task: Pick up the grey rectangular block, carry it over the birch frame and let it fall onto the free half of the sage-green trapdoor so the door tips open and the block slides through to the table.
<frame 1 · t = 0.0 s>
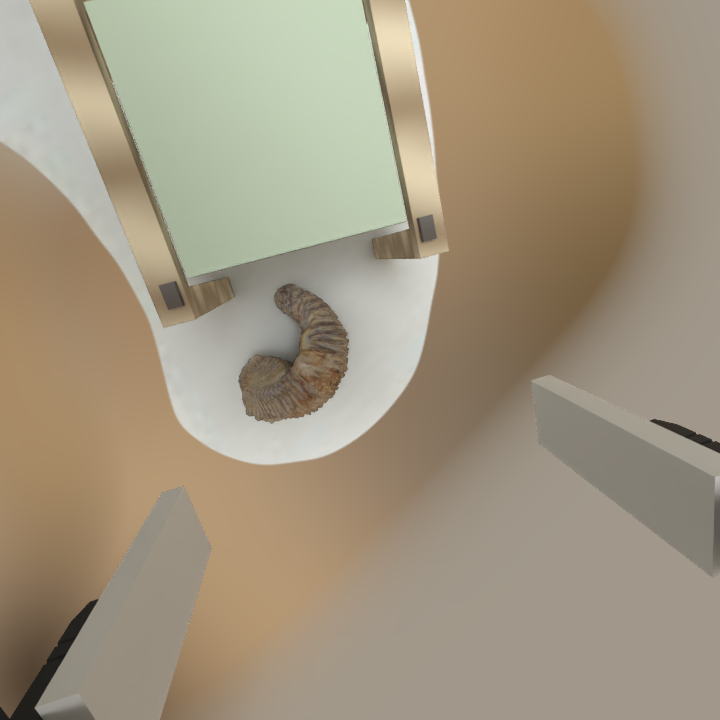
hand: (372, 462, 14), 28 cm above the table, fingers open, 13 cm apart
frame: (278, 179, 36), on the table
trapdoor: (266, 134, 23), point 14 cm above the table, hinge at -0.3°
seashell: (289, 354, 41), on the table
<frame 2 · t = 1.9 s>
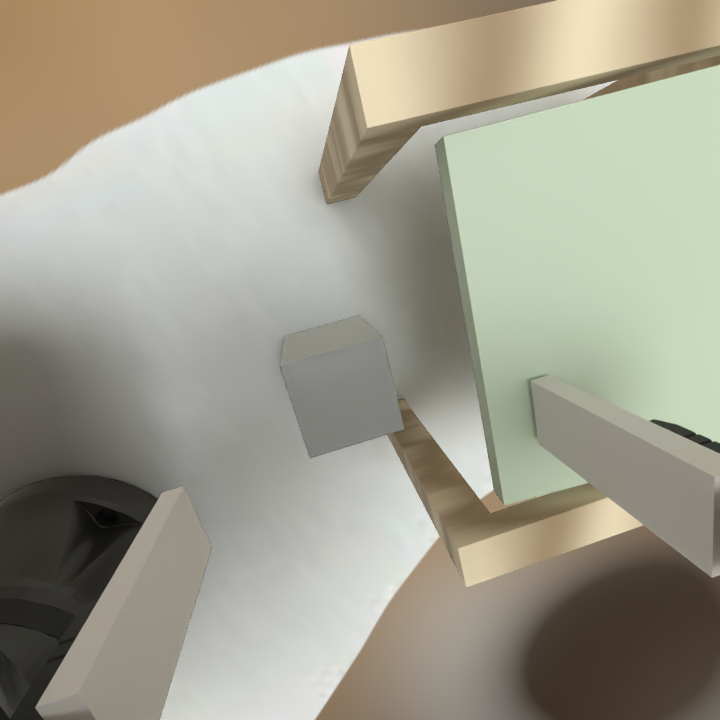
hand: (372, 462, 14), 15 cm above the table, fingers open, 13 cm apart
frame: (477, 278, 28), on the table
trapdoor: (626, 293, 16), point 13 cm above the table, hinge at -4.7°, touching gripper
grey rectangular block: (337, 377, 24), point 4 cm above the table
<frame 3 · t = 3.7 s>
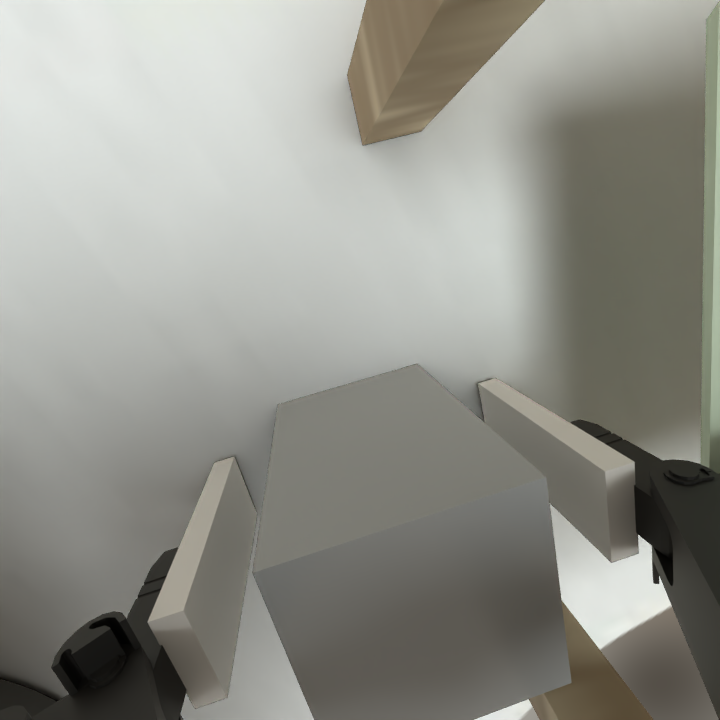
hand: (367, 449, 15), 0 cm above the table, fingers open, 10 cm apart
frame: (634, 294, 15), on the table
grey rectangular block: (388, 508, 11), point 4 cm above the table
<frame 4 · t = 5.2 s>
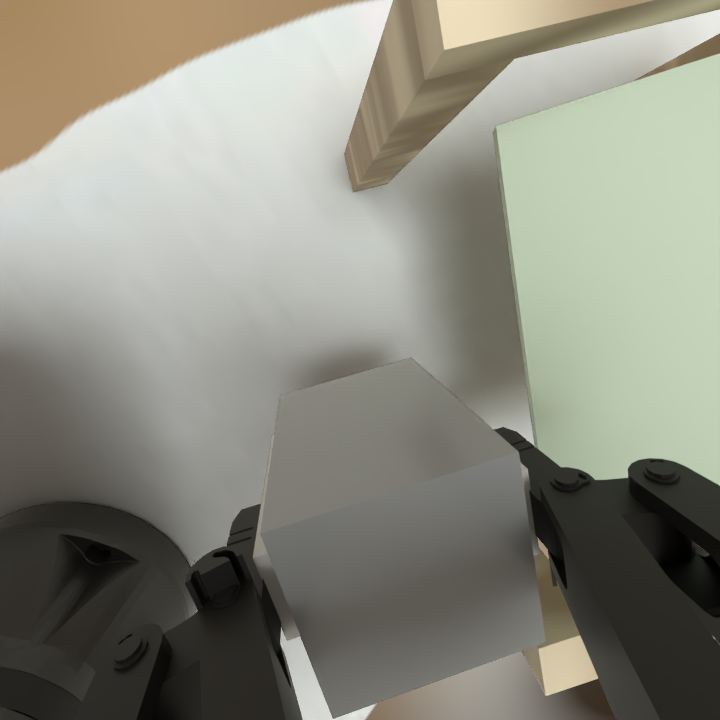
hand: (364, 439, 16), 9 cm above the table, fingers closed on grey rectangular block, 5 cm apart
frame: (527, 280, 24), on the table
grey rectangular block: (382, 490, 12), point 12 cm above the table, touching gripper
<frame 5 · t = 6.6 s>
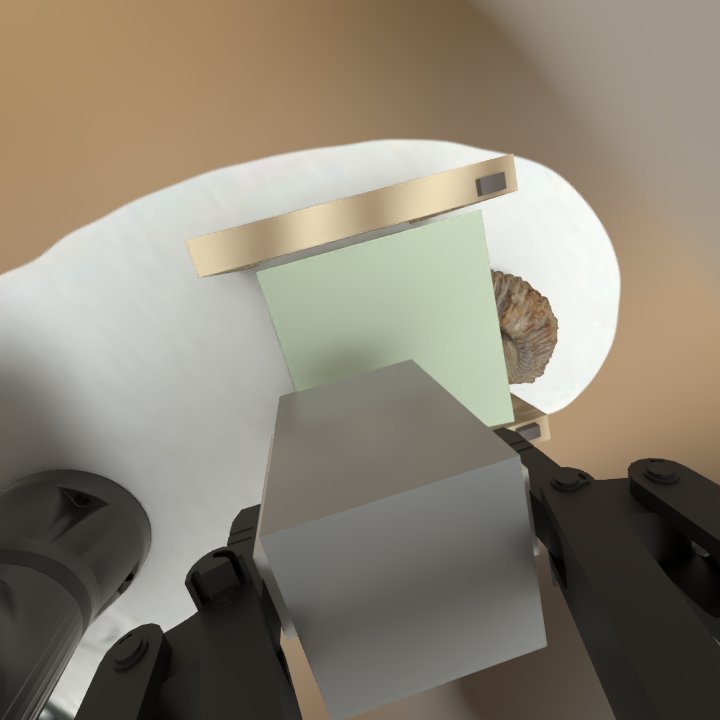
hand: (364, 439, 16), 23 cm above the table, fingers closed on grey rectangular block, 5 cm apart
frame: (356, 319, 38), on the table
trapdoor: (390, 343, 27), point 12 cm above the table, hinge at -12.7°
grey rectangular block: (382, 492, 12), point 27 cm above the table, touching gripper
seashell: (480, 329, 41), on the table
when the fingers open (18 cm above the table, at t = 7.9 s): grey rectangular block drops 10 cm and tips over, resting on trapdoor.
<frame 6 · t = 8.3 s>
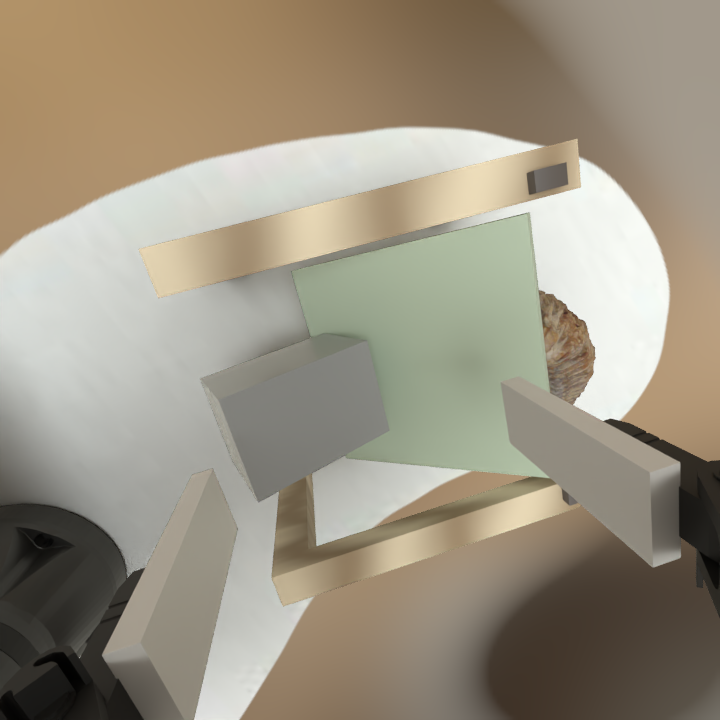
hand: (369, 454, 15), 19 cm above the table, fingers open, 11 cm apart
frame: (364, 336, 33), on the table
trapdoor: (424, 356, 24), point 10 cm above the table, hinge at -38.8°, touching grey rectangular block
grey rectangular block: (295, 404, 22), point 11 cm above the table, tilted 67°, touching trapdoor
seashell: (499, 351, 36), on the table
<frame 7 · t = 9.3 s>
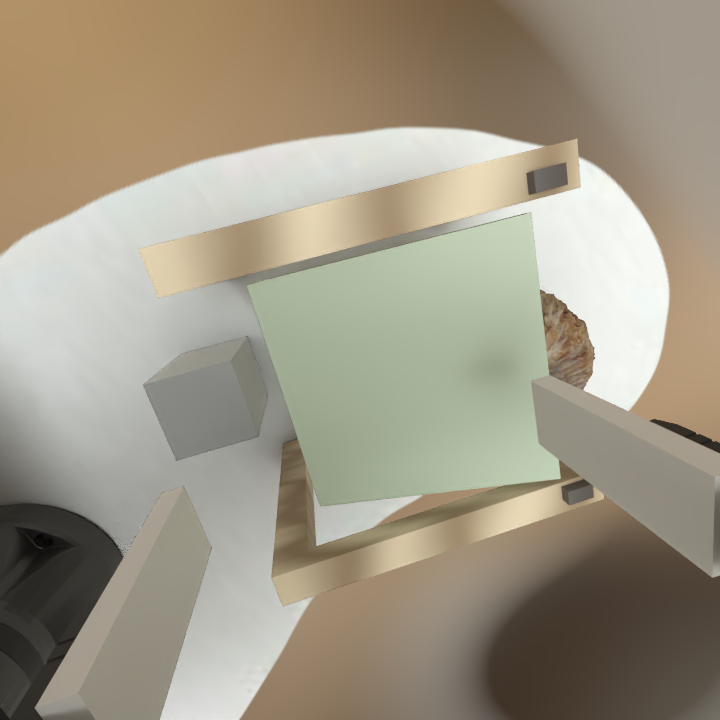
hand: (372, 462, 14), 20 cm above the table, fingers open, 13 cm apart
frame: (363, 336, 33), on the table
trapdoor: (408, 372, 22), point 12 cm above the table, hinge at -17.3°
grey rectangular block: (216, 391, 28), point 4 cm above the table, tilted 180°
seashell: (499, 350, 36), on the table
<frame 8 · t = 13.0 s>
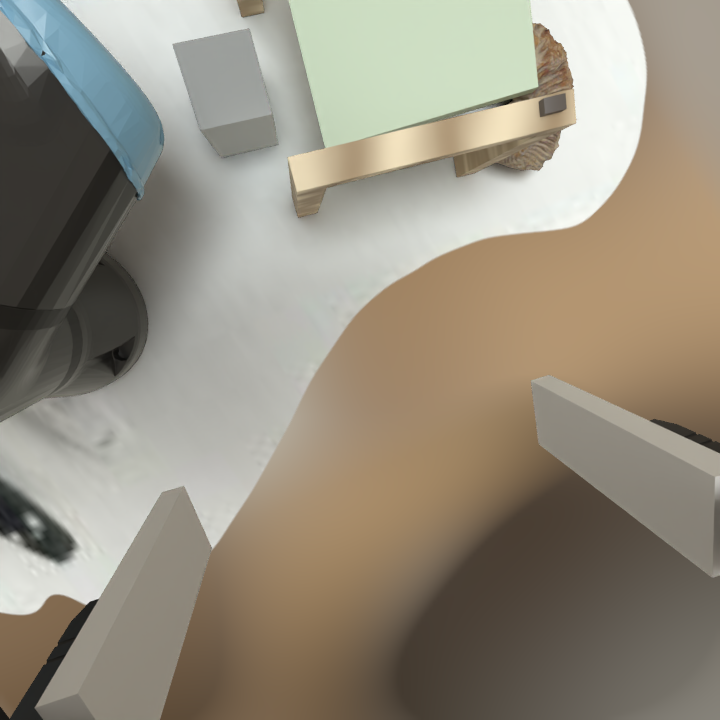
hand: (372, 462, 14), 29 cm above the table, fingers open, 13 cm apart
frame: (366, 90, 36), on the table
trapdoor: (404, 7, 24), point 12 cm above the table, hinge at -12.0°
grey rectangular block: (233, 102, 31), point 4 cm above the table, tilted 180°
seashell: (488, 117, 39), on the table
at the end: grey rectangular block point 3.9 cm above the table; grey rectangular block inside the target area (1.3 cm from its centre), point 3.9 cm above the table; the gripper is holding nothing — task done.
